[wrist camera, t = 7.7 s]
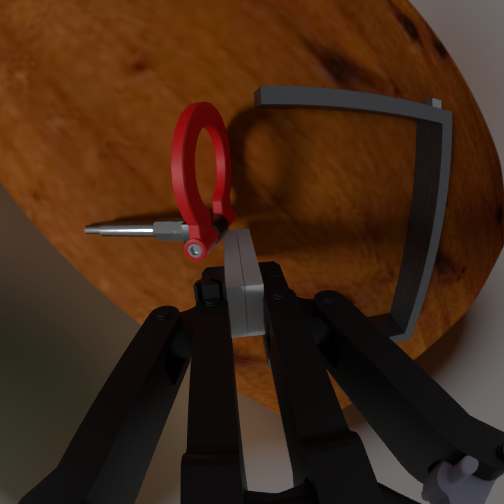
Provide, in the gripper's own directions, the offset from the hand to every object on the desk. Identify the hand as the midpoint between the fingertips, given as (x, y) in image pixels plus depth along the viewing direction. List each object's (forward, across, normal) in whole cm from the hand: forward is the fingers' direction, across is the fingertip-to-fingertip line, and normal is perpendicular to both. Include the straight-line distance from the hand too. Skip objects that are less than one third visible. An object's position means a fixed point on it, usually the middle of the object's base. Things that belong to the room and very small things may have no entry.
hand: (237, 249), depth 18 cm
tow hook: (0, -6, +9) cm, 11 cm away
